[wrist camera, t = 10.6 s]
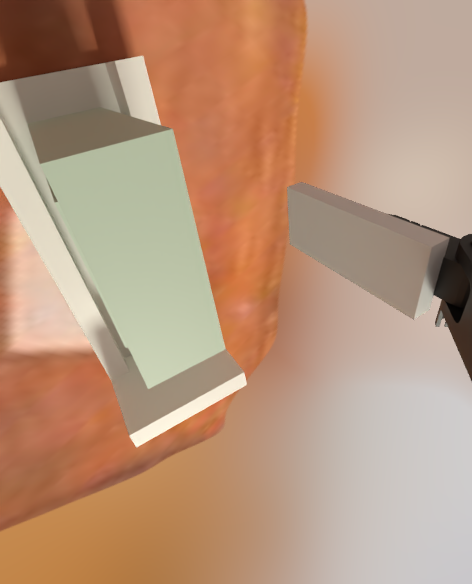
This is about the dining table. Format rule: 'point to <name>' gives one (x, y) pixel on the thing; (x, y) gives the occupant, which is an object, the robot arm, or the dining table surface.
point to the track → (64, 255)
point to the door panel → (133, 233)
